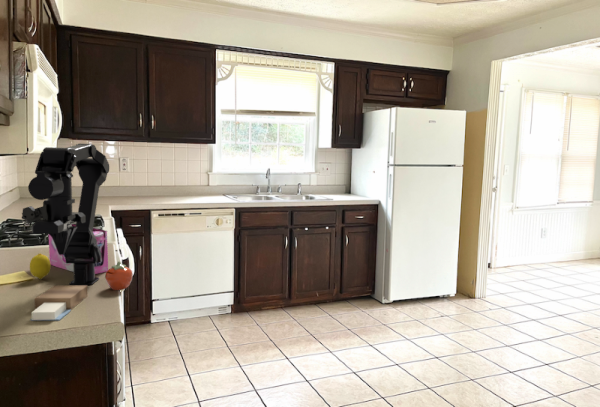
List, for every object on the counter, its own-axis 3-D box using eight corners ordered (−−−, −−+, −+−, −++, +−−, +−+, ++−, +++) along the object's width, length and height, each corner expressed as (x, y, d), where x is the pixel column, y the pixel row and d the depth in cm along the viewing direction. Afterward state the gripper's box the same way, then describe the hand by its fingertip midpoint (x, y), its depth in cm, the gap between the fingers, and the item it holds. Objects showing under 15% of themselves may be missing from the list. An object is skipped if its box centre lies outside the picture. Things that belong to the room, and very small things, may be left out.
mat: (43, 310, 113) (43, 309, 113) (71, 310, 113) (71, 309, 113) (30, 320, 106) (30, 319, 106) (59, 320, 107) (59, 319, 107)
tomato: (101, 287, 132) (100, 260, 132) (126, 283, 138) (126, 257, 137) (111, 294, 127) (111, 265, 126) (137, 288, 132) (137, 261, 131)
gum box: (111, 272, 150) (110, 231, 148) (89, 277, 143) (88, 234, 141) (71, 260, 163) (69, 223, 161) (48, 265, 156) (47, 225, 155)
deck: (55, 296, 124) (54, 285, 124) (87, 296, 125) (87, 285, 124) (35, 310, 113) (34, 298, 113) (70, 310, 114) (70, 298, 113)
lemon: (53, 276, 142) (52, 251, 141) (47, 281, 137) (46, 255, 136) (34, 276, 141) (33, 251, 140) (27, 282, 136) (25, 255, 135)
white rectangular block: (44, 309, 113) (44, 302, 113) (66, 309, 113) (65, 302, 113) (31, 319, 106) (31, 312, 106) (54, 319, 107) (54, 312, 106)
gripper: (44, 191, 128) (46, 246, 130) (7, 199, 109) (10, 262, 111) (85, 192, 129) (87, 247, 131) (56, 199, 110) (58, 263, 112)
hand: (61, 254), depth 121 cm, fingers closed
